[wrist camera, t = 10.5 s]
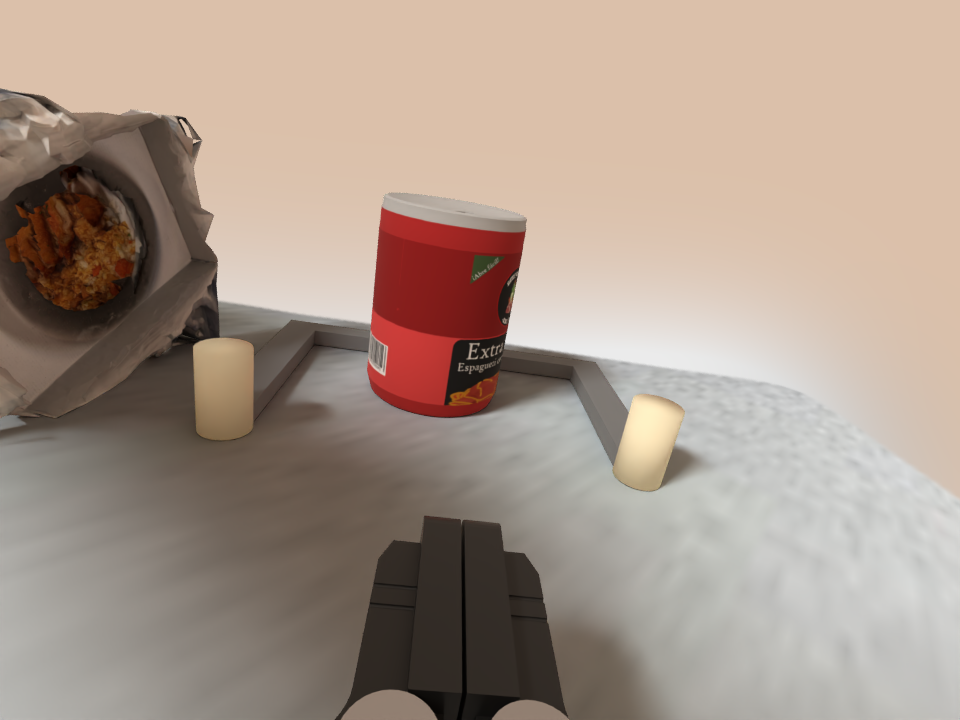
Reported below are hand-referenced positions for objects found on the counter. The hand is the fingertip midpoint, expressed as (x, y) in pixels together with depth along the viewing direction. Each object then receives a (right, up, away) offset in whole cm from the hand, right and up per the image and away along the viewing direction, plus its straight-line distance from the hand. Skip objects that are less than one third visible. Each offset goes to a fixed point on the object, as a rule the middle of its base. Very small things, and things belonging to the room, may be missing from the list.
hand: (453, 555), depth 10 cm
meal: (-19, +3, +16) cm, 25 cm away
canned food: (-2, +2, +22) cm, 22 cm away
